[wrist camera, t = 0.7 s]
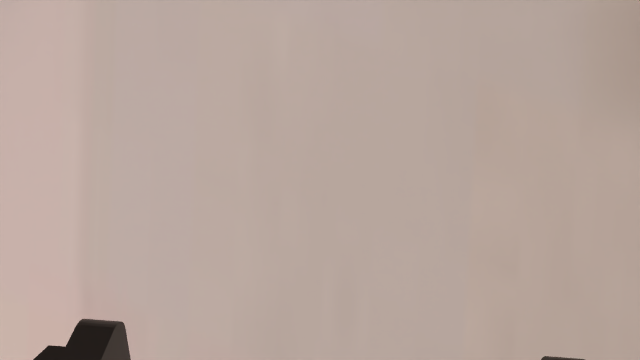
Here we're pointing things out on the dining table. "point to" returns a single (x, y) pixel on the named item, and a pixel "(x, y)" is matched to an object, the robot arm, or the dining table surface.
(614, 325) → the dining table surface
